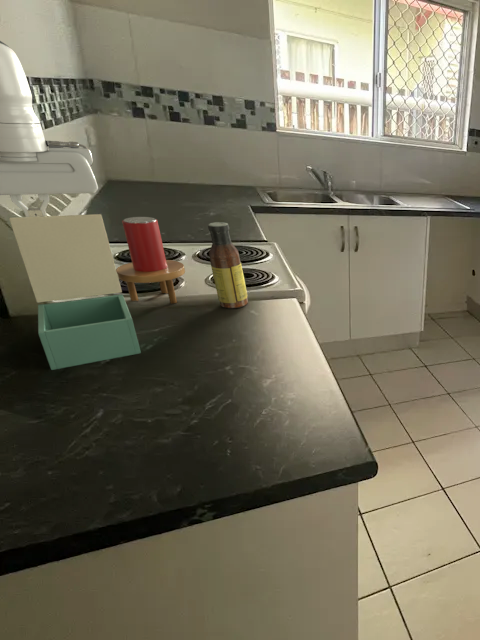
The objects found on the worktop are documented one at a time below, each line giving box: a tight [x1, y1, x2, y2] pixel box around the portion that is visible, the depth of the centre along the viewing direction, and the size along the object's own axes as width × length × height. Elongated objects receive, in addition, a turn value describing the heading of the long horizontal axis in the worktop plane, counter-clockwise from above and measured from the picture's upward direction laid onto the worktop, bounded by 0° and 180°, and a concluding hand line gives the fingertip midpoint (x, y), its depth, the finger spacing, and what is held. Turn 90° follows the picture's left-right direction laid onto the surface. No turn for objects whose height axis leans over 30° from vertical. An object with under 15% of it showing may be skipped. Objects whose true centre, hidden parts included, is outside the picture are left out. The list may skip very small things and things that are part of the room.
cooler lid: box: [8, 213, 123, 304], centre depth 90 cm, size 15×13×1 cm
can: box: [121, 216, 167, 272], centre depth 109 cm, size 6×6×11 cm
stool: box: [116, 259, 186, 304], centre depth 113 cm, size 13×13×8 cm
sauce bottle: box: [207, 221, 249, 309], centre depth 111 cm, size 6×6×20 cm
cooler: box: [37, 293, 142, 371], centre depth 89 cm, size 15×13×8 cm
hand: (37, 218), depth 89 cm, fingers closed
